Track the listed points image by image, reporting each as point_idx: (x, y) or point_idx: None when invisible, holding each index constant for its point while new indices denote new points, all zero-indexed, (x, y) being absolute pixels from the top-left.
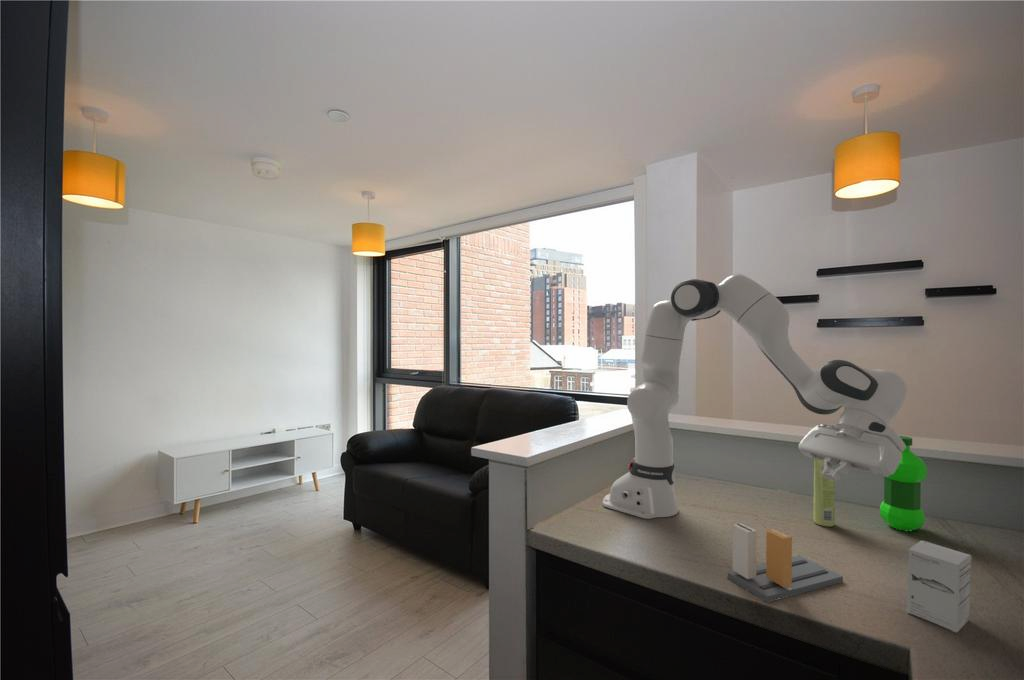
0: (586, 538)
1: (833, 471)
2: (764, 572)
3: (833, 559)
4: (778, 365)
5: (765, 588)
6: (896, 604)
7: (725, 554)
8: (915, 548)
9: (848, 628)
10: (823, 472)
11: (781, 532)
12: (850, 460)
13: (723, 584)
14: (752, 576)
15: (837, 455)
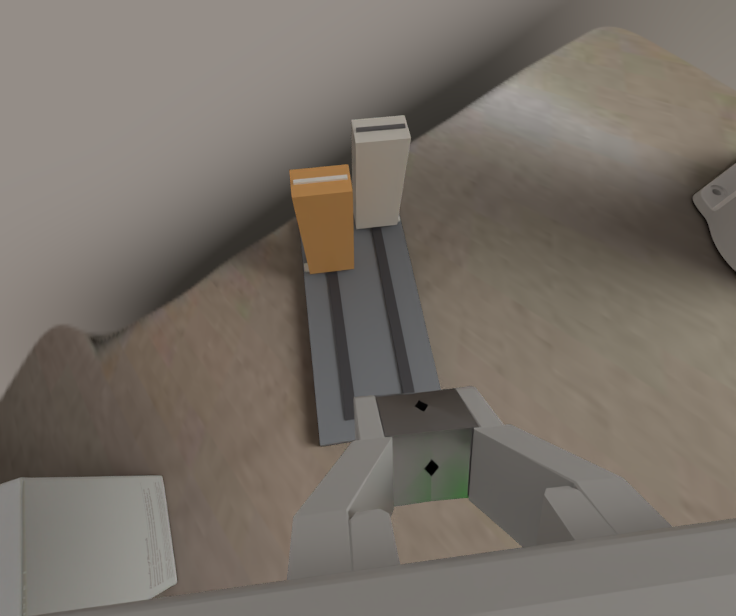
0: (573, 72)
1: (387, 425)
2: (379, 267)
3: (438, 547)
4: None
5: None
6: (197, 489)
7: (493, 264)
8: (3, 512)
9: (185, 294)
10: (462, 392)
11: (326, 191)
12: (188, 594)
13: None
14: (354, 217)
15: (488, 577)
